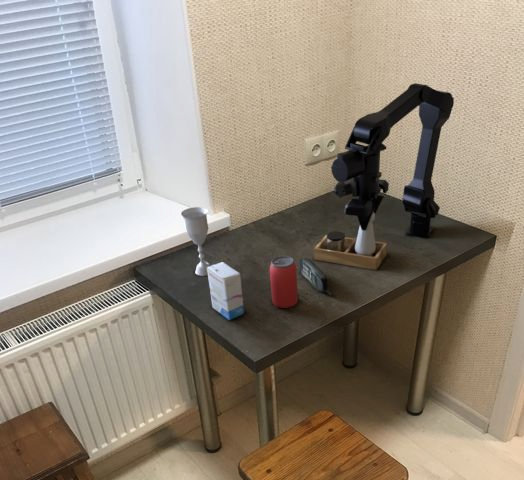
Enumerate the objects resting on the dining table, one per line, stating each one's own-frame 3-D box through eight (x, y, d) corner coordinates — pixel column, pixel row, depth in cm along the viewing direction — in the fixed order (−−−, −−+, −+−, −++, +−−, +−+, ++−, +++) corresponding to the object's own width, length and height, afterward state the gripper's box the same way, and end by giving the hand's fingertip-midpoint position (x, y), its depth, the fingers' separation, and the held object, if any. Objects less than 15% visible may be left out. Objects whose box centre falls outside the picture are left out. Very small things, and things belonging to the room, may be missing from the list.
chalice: (220, 266, 163) (211, 208, 152) (211, 278, 158) (201, 218, 147) (197, 264, 166) (187, 206, 155) (187, 275, 161) (176, 216, 150)
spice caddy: (326, 245, 169) (326, 234, 166) (386, 254, 161) (387, 243, 159) (314, 259, 162) (313, 248, 160) (376, 270, 155) (376, 258, 152)
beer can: (271, 296, 148) (267, 256, 141) (296, 294, 148) (294, 253, 141) (273, 310, 143) (270, 269, 135) (299, 307, 143) (297, 265, 136)
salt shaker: (374, 260, 156) (376, 217, 148) (353, 259, 158) (355, 216, 150) (376, 250, 161) (378, 207, 153) (355, 249, 162) (357, 207, 154)
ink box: (245, 313, 143) (241, 272, 136) (229, 321, 141) (223, 280, 133) (227, 300, 149) (222, 260, 141) (211, 307, 146) (205, 267, 139)
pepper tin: (330, 249, 166) (330, 230, 162) (347, 252, 164) (347, 232, 160) (324, 257, 163) (324, 237, 159) (341, 260, 161) (341, 240, 157)
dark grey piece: (297, 258, 154) (323, 281, 142) (307, 255, 155) (334, 277, 143) (298, 274, 157) (324, 297, 145) (308, 271, 158) (334, 294, 146)
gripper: (350, 155, 154) (349, 209, 163) (325, 181, 141) (326, 237, 151) (390, 159, 149) (387, 214, 159) (368, 185, 137) (366, 243, 146)
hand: (366, 226), depth 154 cm, fingers closed on salt shaker, 4 cm apart
